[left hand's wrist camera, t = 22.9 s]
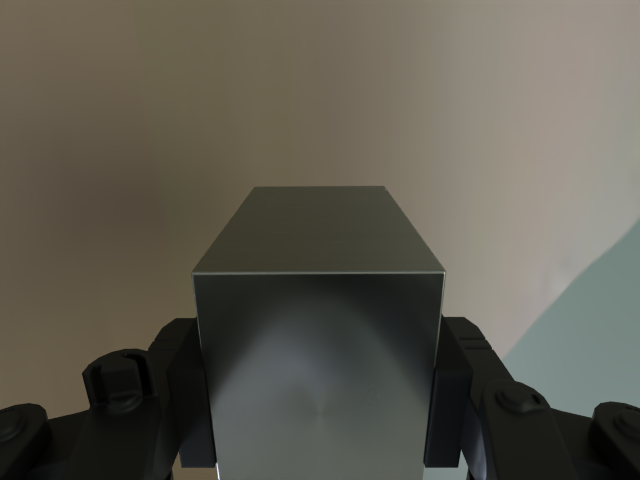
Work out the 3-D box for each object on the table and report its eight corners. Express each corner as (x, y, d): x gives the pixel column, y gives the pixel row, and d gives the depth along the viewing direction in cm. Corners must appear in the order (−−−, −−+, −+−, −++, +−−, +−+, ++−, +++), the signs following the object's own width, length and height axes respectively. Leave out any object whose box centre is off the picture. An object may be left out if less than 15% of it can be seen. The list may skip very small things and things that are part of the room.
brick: (376, 341, 17) (418, 521, 10) (264, 342, 17) (222, 522, 10) (384, 185, 14) (447, 270, 7) (254, 186, 15) (189, 271, 7)
